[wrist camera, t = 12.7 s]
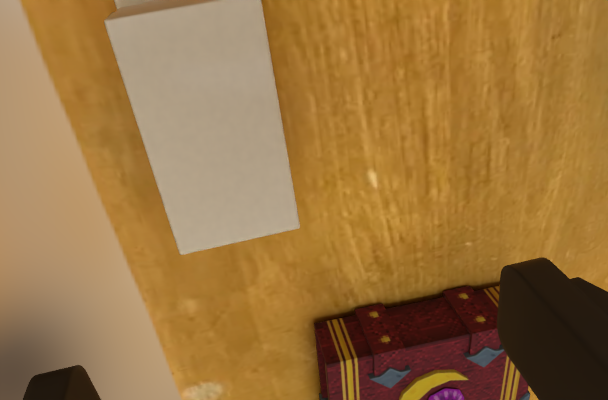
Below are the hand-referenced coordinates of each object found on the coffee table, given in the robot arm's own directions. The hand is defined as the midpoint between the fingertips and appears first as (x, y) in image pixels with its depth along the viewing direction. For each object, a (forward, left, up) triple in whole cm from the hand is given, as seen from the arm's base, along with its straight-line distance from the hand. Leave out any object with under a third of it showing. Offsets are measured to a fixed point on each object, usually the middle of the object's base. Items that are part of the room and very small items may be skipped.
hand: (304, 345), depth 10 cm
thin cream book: (+1, -1, -16) cm, 16 cm away
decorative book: (+21, +14, -20) cm, 32 cm away
